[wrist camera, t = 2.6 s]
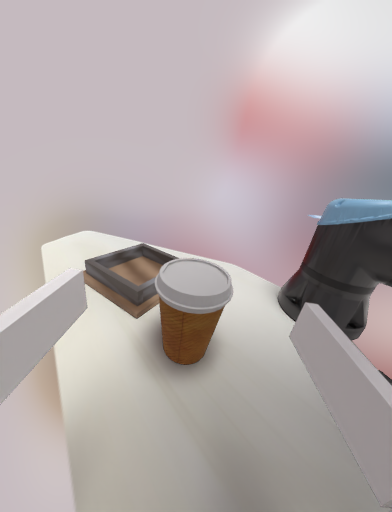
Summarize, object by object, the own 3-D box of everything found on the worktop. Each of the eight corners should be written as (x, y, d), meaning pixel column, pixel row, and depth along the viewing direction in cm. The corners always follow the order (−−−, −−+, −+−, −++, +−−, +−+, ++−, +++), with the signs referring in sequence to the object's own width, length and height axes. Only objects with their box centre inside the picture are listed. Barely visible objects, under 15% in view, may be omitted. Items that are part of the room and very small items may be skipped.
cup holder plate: (143, 253, 52) (143, 240, 50) (195, 277, 44) (197, 262, 42) (77, 277, 37) (74, 260, 36) (136, 318, 30) (136, 299, 28)
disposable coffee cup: (183, 312, 32) (191, 251, 28) (228, 344, 27) (249, 277, 22) (137, 343, 25) (137, 269, 21) (187, 395, 20) (203, 313, 15)
